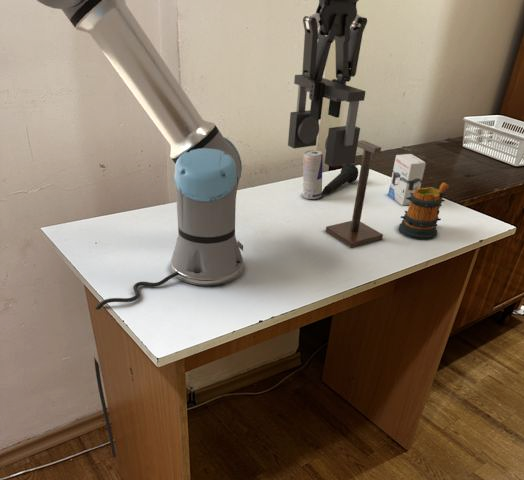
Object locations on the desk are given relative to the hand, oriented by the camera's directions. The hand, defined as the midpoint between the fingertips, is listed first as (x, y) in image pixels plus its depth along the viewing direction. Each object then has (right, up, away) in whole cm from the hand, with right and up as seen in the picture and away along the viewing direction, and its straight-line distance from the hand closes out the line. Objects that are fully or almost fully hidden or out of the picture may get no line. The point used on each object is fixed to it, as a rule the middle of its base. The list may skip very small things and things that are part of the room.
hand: (324, 116), depth 103 cm
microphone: (+9, +1, +50) cm, 51 cm away
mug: (+28, -17, +28) cm, 43 cm away
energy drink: (+2, -3, +43) cm, 43 cm away
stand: (+10, -19, +24) cm, 32 cm away
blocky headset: (0, -6, +5) cm, 7 cm away
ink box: (+28, -4, +45) cm, 53 cm away
